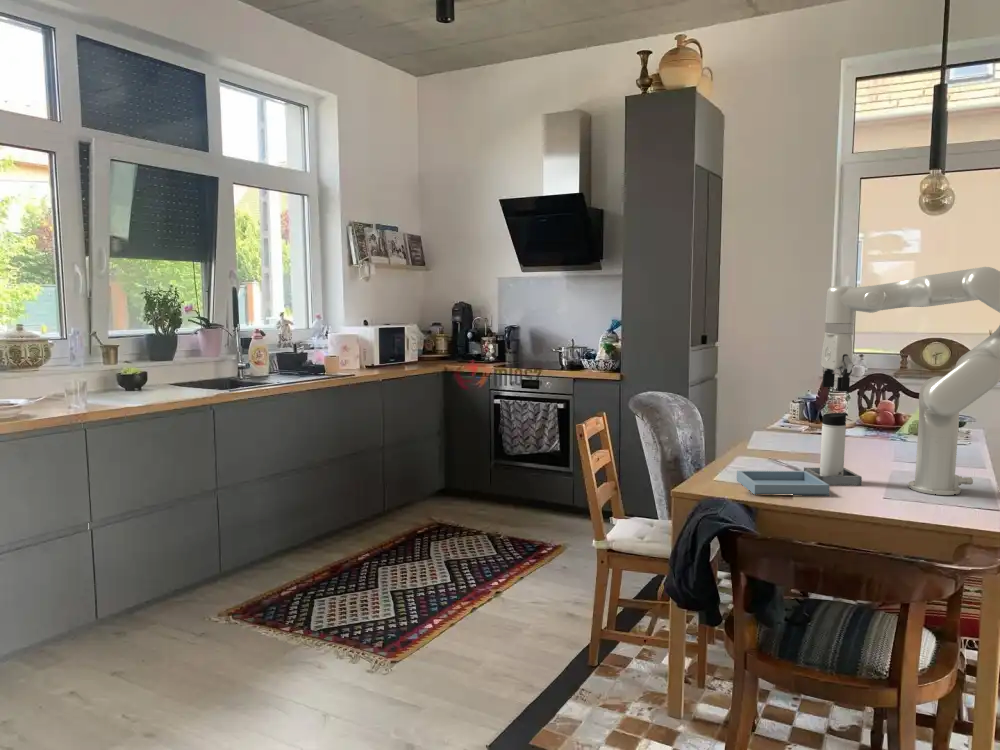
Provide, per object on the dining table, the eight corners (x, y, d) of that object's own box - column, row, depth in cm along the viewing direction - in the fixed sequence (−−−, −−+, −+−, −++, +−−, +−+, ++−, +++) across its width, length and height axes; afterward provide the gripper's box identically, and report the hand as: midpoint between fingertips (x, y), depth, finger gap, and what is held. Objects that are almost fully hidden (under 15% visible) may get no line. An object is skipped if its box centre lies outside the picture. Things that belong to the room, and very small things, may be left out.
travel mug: (846, 483, 214) (850, 414, 211) (822, 482, 215) (825, 414, 213) (841, 478, 220) (844, 411, 217) (817, 477, 221) (820, 410, 219)
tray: (805, 481, 216) (806, 471, 216) (829, 496, 200) (829, 485, 200) (736, 480, 217) (736, 470, 216) (754, 495, 201) (754, 484, 200)
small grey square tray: (843, 475, 223) (844, 467, 222) (861, 485, 212) (861, 476, 211) (803, 475, 223) (804, 467, 222) (818, 485, 212) (819, 476, 212)
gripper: (813, 328, 221) (810, 385, 223) (839, 331, 204) (835, 393, 206) (839, 328, 221) (835, 385, 223) (866, 331, 204) (862, 393, 206)
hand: (835, 389), depth 214 cm, fingers open, 9 cm apart
